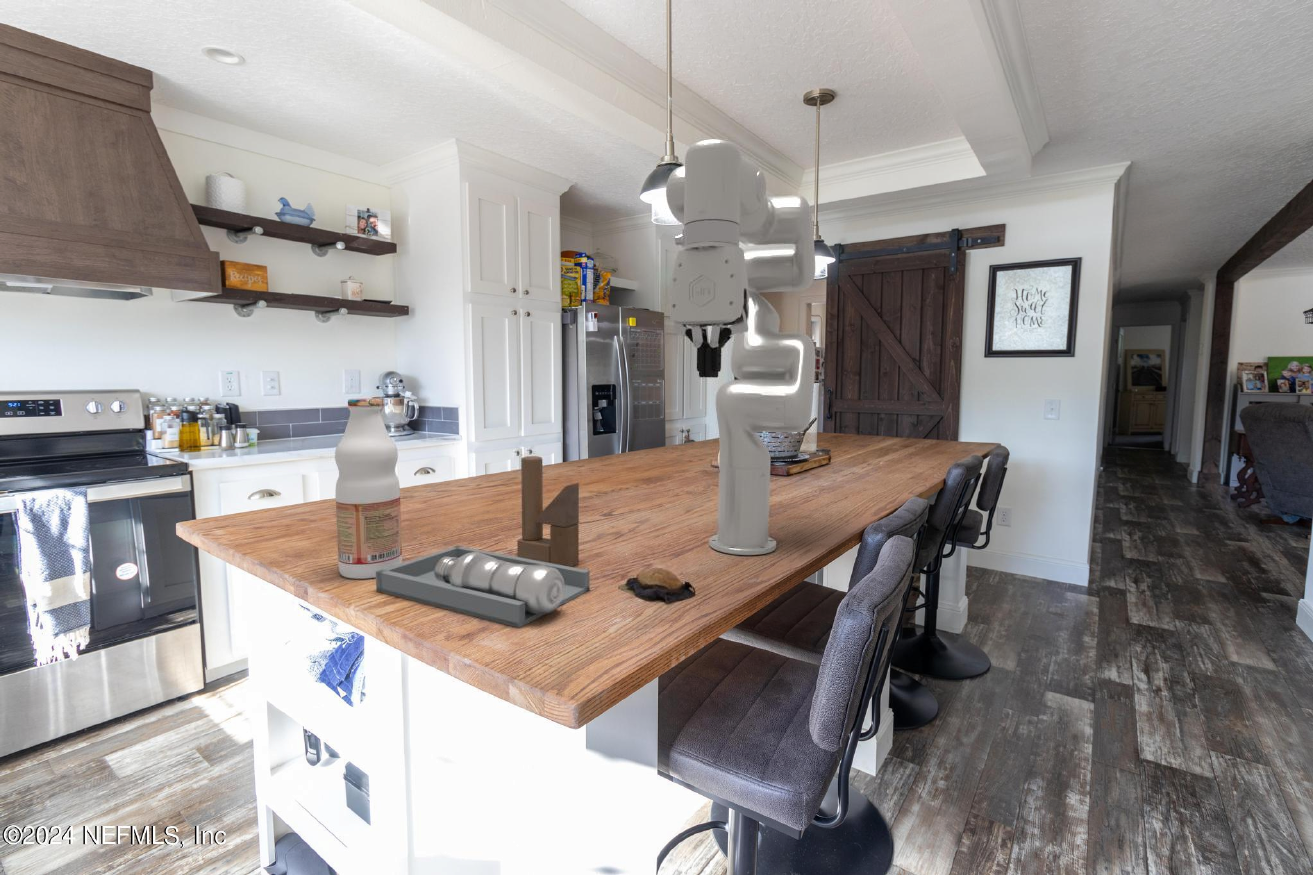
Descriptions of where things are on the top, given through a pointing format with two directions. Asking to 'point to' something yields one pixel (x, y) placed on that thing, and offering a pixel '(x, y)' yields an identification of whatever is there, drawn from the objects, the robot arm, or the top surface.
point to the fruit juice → (367, 494)
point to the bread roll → (658, 586)
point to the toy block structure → (548, 519)
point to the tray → (423, 587)
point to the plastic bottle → (504, 580)
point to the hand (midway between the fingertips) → (708, 377)
